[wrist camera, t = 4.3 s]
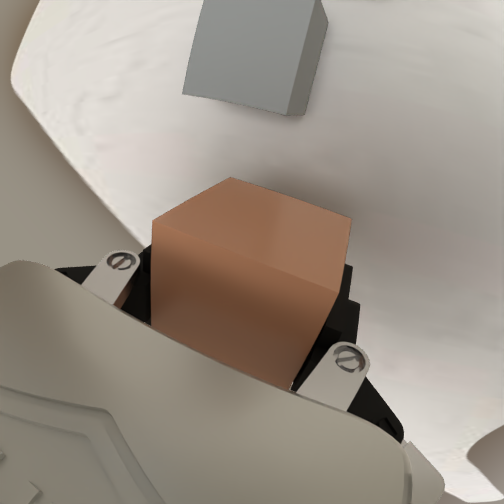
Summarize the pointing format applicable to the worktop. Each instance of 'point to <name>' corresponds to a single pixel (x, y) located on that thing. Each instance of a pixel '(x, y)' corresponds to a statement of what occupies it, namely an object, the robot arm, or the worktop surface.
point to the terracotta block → (247, 276)
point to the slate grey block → (257, 53)
